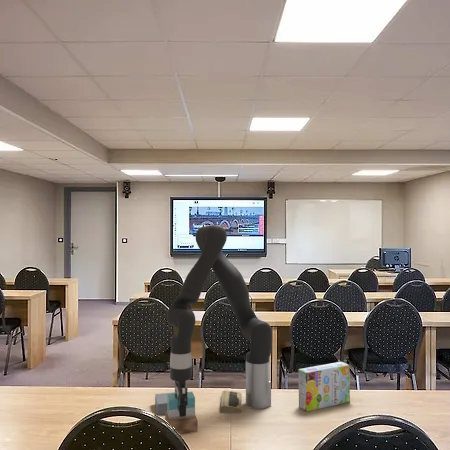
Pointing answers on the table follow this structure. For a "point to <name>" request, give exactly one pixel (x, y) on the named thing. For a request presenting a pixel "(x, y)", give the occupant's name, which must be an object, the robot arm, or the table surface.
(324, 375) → the snack box
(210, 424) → the table surface
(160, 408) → the stand
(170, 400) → the housing
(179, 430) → the stand
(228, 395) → the computer
